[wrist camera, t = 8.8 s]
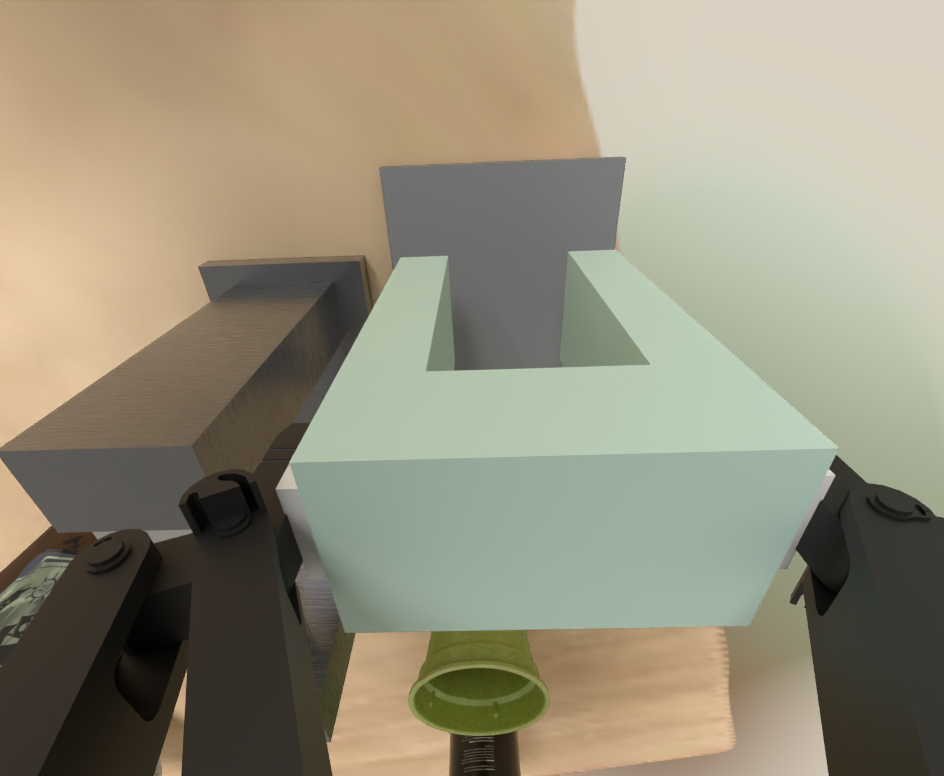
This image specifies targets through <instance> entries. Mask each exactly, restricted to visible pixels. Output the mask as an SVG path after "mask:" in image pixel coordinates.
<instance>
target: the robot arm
mask: <svg viewBox="0 0 944 776" xmlns="http://www.w3.org/2000/svg"><path fill="white" fill-rule="evenodd" d="M309 425H310V423H292V424H291V425H289V426H288V427H287V428H286V429H284V430H283V431H282V432H281V433H279V434H278V435H277V436H276V438H275V440H274V441H273V443H272V444H271V446H270V447H269V451H267V452H266V454H265V455H264V457H263V459H262V463H259V465H258V467H257V468H256V470H255V471H254V473H253V474H252V473H250V472H248V471H246V470H239V469H230V470H225V471H220V472H216V473H214V474H211V475H209V476H207V477H204V478H203V479H201V480H199V481H198V482H196V483H195V484H193V485H192V486H191V487H190V488H189V489H188V490H187V491H186V492H185V493H184V494H183V495H182V497H181V500H180V502H179V505H178V506H179V508H180V510H181V511H182V513H183V515H184V517H185V519H186V521H187V523H188V525H189V526H190V528H191V530H192V532H193V533H190V534H187V535H183V536H179V537H175V538H172V539H168V540H164V541H160V542H157V543H153V541H152V540H151V538H150V536H149V535H148V533H147V532H145V531H143V530H140V529H124V530H121V531H117V532H114V533H110V534H108V535H106V536H104V537H102V538H100V539H98V540H96V541H94V542H92V543H91V544H90V545H88V546H87V547H86V548H84V549H83V550H82V551H80V552H79V553H78V554H77V555H76V556H75V557H74V559H73V560H72V561H71V562H70V563H69V564H68V566H67V567H66V569H65V570H64V572H63V573H62V575H61V576H60V578H59V579H58V581H57V583H56V584H55V586H54V587H53V589H52V590H51V592H50V593H49V595H48V596H47V598H46V599H45V601H44V602H43V604H42V605H41V607H40V608H39V610H38V612H37V613H36V615H35V616H34V618H33V619H32V621H31V622H30V624H29V625H28V627H27V628H26V630H25V631H24V633H23V634H22V636H21V637H20V639H19V641H18V642H17V644H16V645H15V647H14V648H13V650H12V651H11V653H10V654H9V656H8V657H7V659H6V660H5V662H4V663H3V665H2V666H1V668H0V776H154V773H155V770H156V767H157V763H158V760H159V757H160V754H161V750H162V747H163V744H164V741H165V738H166V734H167V731H168V728H169V725H170V721H171V718H172V715H173V712H174V709H175V705H176V702H177V699H178V696H179V692H180V689H181V686H182V683H183V679H184V676H185V673H186V670H187V685H186V703H185V721H184V739H183V757H182V775H181V776H332V771H331V765H330V760H329V754H328V749H327V743H326V737H325V732H324V726H323V721H322V715H321V710H320V704H319V698H318V693H317V687H316V682H315V676H314V671H313V665H312V660H311V654H310V648H309V643H308V637H307V632H306V626H305V621H304V615H303V609H302V604H301V598H300V593H299V589H298V587H297V584H296V582H295V580H296V577H297V575H298V572H299V570H300V567H301V565H302V564H303V567H304V569H305V572H306V575H307V578H308V579H319V578H327V577H326V573H325V570H324V567H323V564H322V561H321V558H320V555H319V552H318V549H317V546H316V543H315V540H314V537H313V534H312V531H311V528H310V525H309V522H308V519H307V516H306V513H305V510H304V506H303V503H302V500H301V497H300V494H299V491H298V488H297V485H296V482H295V479H294V476H293V473H292V470H291V467H290V464H289V462H290V460H291V458H292V456H293V455H294V453H295V451H296V449H297V447H298V445H299V444H300V442H301V440H302V438H303V436H304V434H305V432H306V431H307V429H308V427H309ZM796 550H797V551H798V553H799V554H800V555H801V556H802V558H803V559H804V561H805V562H806V563H807V565H808V566H807V567H806V569H805V571H804V573H803V575H802V577H801V578H800V580H799V582H798V584H797V585H796V587H795V589H794V591H793V593H792V594H791V599H790V603H791V604H794V605H796V604H797V602H798V600H799V598H800V596H801V595H803V594H804V600H805V608H806V614H807V622H808V628H809V635H810V643H811V650H812V658H813V664H814V672H815V679H816V686H817V693H818V701H819V707H820V716H821V723H822V729H823V737H824V744H825V751H826V759H827V766H828V773H829V776H944V518H942V517H936V516H935V515H934V514H933V512H932V511H931V510H930V509H929V508H928V507H926V506H925V505H924V504H922V503H921V502H920V501H918V500H917V499H915V498H913V497H911V496H909V495H907V494H905V493H903V492H901V491H899V490H896V489H893V488H890V487H887V486H884V485H877V484H869V483H866V482H865V481H864V480H863V479H862V478H861V477H860V476H859V475H858V474H857V473H855V472H854V471H853V470H852V469H851V468H850V467H849V466H848V465H847V464H845V462H843V461H842V460H841V459H840V458H839V457H838V456H837V455H836V456H835V458H834V460H833V462H832V464H831V466H830V468H829V470H828V472H827V474H826V476H825V478H824V480H823V481H822V483H821V485H820V487H819V489H818V491H817V493H816V495H815V497H814V499H813V501H812V503H811V505H810V507H809V509H808V511H807V513H806V515H805V517H804V519H803V521H802V523H801V525H800V527H799V529H798V531H797V533H796V535H795V537H794V539H793V541H792V543H791V545H790V547H789V549H788V551H787V553H786V555H785V557H784V559H783V561H782V563H781V565H780V567H779V569H787V568H788V566H789V564H790V562H791V560H792V558H793V556H794V554H795V552H796Z"/></svg>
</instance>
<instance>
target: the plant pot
mask: <svg viewBox="0 0 944 776" xmlns="http://www.w3.org/2000/svg"><path fill="white" fill-rule="evenodd" d="M408 702H409V706H410V709H411V711H412V712H413V714H414V715H415V716H416V717H417V718H418V719H419V720H421V721H422V722H423V723H425V724H427V725H428V726H431V727H433V728H436V729H438V730H441V731H445V732H449V733H454V734H460V735H471V736H487V735H498V734H504V733H509V732H513V731H516V730H519V729H521V728H525V727H527V726H529V725H531V724H532V723H534V722H536V721H537V720H539V719H540V718H541V717H542V716H543V715H544V714H545V713H546V711H547V710H548V708H549V704H550V696H549V691H548V689H547V687H546V685H545V684H544V682H543V681H542V680H541V679H540V676H539V672H538V669H537V667H536V665H535V663H534V662H533V660H532V656H531V652H530V648H529V643H528V639H527V635H526V631H525V630H481V631H432V634H431V639H430V643H429V647H428V652H427V656H426V661H425V662H424V664H423V665H422V667H421V670H420V674H419V677H418V680H417V681H416V682H415V683H414V684H413V686H412V688H411V690H410V693H409V700H408Z"/></svg>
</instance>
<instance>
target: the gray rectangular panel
mask: <svg viewBox="0 0 944 776" xmlns="http://www.w3.org/2000/svg"><path fill="white" fill-rule="evenodd" d="M625 162H626V158H625V157H605V158H580V159H556V160H531V161H507V162H482V163H458V164H433V165H409V166H384V167H380V175H381V183H382V190H383V198H384V206H385V213H386V221H387V228H388V236H389V244H390V251H391V259H392V267H393V270H394V269H395V267H396V265H397V263H398V261H399V259H400V258H401V257H426V256H448V262H449V278H450V294H451V309H452V325H453V341H454V356H455V366H454V371H460V370H493V369H526V368H559V367H563V366H562V363H561V360H560V350H561V336H562V323H563V310H564V296H565V283H566V270H567V257H568V251H592V250H614V247H615V239H616V232H617V224H618V216H619V208H620V201H621V193H622V185H623V177H624V170H625Z"/></svg>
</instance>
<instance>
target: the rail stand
mask: <svg viewBox="0 0 944 776" xmlns="http://www.w3.org/2000/svg"><path fill="white" fill-rule="evenodd" d="M199 270H200V273H201V276H202V279H203V281H204V284H205V287H206V290H207V292H208V295H209V298H210V301H211V302H210V303H209V304H207V305H206V306H204V307H203V308H201V309H200V310H199V311H197V312H196V313H194V314H193V315H191V316H190V317H188V318H187V319H186V320H184V321H183V322H181V323H180V324H178V325H177V326H175V327H174V328H173V329H171V330H170V331H168V332H167V333H165V334H164V335H162V336H161V337H160V338H158V339H157V340H155V341H154V342H152V343H151V344H149V345H148V346H147V347H145V348H144V349H142V350H141V351H139V352H138V353H136V354H135V355H134V356H132V357H131V358H129V359H128V360H126V361H125V362H123V363H122V364H121V365H119V366H118V367H116V368H115V369H113V370H112V371H110V372H109V373H108V374H106V375H105V376H103V377H102V378H100V379H99V380H97V381H96V382H95V383H93V384H92V385H90V386H89V387H87V388H86V389H84V390H83V391H82V392H80V393H79V394H77V395H76V396H74V397H73V398H71V399H70V400H69V401H67V402H66V403H64V404H63V405H61V406H60V407H58V408H57V409H56V410H54V411H53V412H51V413H50V414H48V415H47V416H45V417H44V418H43V419H41V420H40V421H38V422H37V423H35V424H34V425H32V426H31V427H30V428H28V429H27V430H25V431H24V432H22V433H21V434H19V435H18V436H17V437H15V438H14V439H12V440H11V441H9V442H8V443H6V444H5V445H4V446H2V447H1V448H0V459H1V460H2V461H3V462H4V464H5V465H6V466H7V468H8V469H9V470H10V471H11V473H12V474H13V475H14V477H15V478H16V479H17V481H18V482H19V483H20V484H21V486H22V487H23V488H24V490H25V491H26V492H27V493H28V495H29V496H30V497H31V499H32V500H33V501H34V502H35V504H36V505H37V506H38V508H39V509H40V510H41V512H42V513H43V514H44V515H45V517H46V518H47V519H48V521H49V522H50V523H51V524H52V526H53V527H54V528H55V530H56V531H57V532H58V533H70V532H93V534H94V535H95V537H96V538H97V539H100V538H102V537H104V536H106V535H108V534H110V533H114V532H117V531H121V530H124V529H140V530H143V531H145V532H147V533H148V535H149V536H150V538H151V540H152V541H153V543H157V542H160V541H164V540H168V539H172V538H175V537H179V536H183V535H187V534H190V533H193V532H192V530H191V528H190V526H189V525H188V523H187V521H186V519H185V517H184V515H183V513H182V511H181V510H180V508H179V506H178V505H179V502H180V500H181V497H182V495H183V494H184V493H185V492H186V491H187V490H188V489H189V488H190V487H191V486H192V485H193V484H195V483H196V482H198V481H199V480H201V479H203V478H204V477H207V476H209V475H211V474H214V473H216V472H220V471H225V470H230V469H239V470H246V471H248V472H250V473H252V474H253V473H254V471H255V470H256V468H257V467H258V465H259V463H262V459H263V457H264V455H265V454H266V452H267V451H269V447H270V446H271V444H272V443H273V441H274V440H275V438H276V436H277V435H278V434H279V433H281V432H282V431H283V430H284V429H286V428H287V427H288V426H289V425H291V424H292V423H311V421H312V420H313V418H314V416H315V414H316V412H317V410H318V409H319V407H320V405H321V403H322V401H323V399H324V397H325V396H326V394H327V392H328V390H329V388H330V386H331V385H332V383H333V381H334V379H335V377H336V375H337V374H338V372H339V370H340V368H341V366H342V364H343V362H344V361H345V359H346V357H347V355H348V353H349V351H350V350H351V348H352V346H353V344H354V342H355V340H356V339H357V337H358V335H359V333H360V331H361V329H362V327H363V326H364V324H365V322H366V320H367V318H368V316H369V315H370V313H371V311H372V303H371V296H370V290H369V284H368V278H367V272H366V266H365V260H364V256H336V257H309V258H282V259H254V260H227V261H208V262H206V263H204V264H202V265H201V266H199ZM295 582H296V584H297V587H298V589H299V593H300V598H301V604H302V609H303V615H304V621H305V626H306V632H307V637H308V643H309V648H310V654H311V660H312V665H313V671H314V676H315V682H316V687H317V693H318V698H319V704H320V710H321V715H322V721H323V726H324V732H325V737H326V742H331V738H332V734H333V729H334V725H335V721H336V716H337V712H338V708H339V703H340V699H341V694H342V690H343V686H344V681H345V677H346V673H347V668H348V664H349V659H350V655H351V651H352V646H353V642H354V638H355V633H345V631H344V628H343V625H342V622H341V619H340V616H339V613H338V610H337V607H336V604H335V601H334V598H333V595H332V592H331V589H330V586H329V583H328V580H327V578H319V579H308V578H307V575H306V572H305V569H304V567H303V564H302V565H301V567H300V570H299V572H298V575H297V577H296V580H295Z"/></svg>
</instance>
